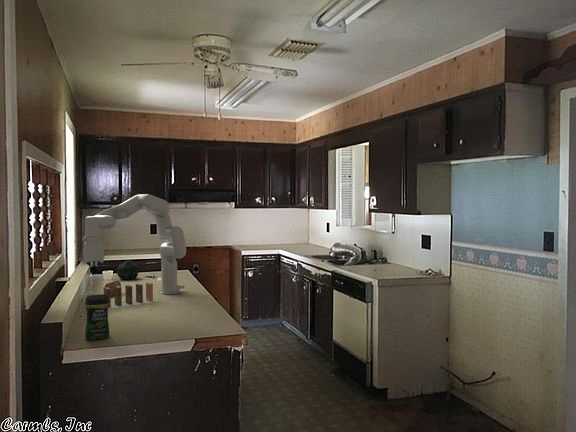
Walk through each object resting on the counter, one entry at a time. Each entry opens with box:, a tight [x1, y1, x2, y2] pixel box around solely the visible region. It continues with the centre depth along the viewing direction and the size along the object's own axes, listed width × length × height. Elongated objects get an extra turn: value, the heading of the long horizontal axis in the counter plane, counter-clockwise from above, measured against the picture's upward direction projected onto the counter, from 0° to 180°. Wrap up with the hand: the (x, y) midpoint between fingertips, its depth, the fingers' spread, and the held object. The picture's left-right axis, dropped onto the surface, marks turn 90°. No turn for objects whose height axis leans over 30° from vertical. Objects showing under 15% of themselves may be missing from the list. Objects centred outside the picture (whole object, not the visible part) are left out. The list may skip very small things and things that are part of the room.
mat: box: [108, 298, 160, 310], centre depth 271 cm, size 32×12×1 cm, turn 129°
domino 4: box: [135, 283, 144, 303], centre depth 276 cm, size 2×5×10 cm, turn 39°
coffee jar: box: [84, 293, 110, 341], centre depth 207 cm, size 10×8×19 cm
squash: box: [116, 259, 139, 281], centre depth 354 cm, size 14×15×15 cm
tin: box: [103, 280, 122, 297], centre depth 297 cm, size 15×3×8 cm, turn 168°
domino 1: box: [103, 286, 112, 307], centre depth 264 cm, size 2×5×10 cm, turn 39°
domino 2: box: [114, 286, 123, 306], centre depth 268 cm, size 2×5×10 cm, turn 39°
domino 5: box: [145, 282, 154, 302], centre depth 279 cm, size 2×5×10 cm, turn 39°
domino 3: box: [124, 284, 133, 304], centre depth 272 cm, size 2×5×10 cm, turn 39°
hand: (93, 274), depth 259 cm, fingers closed
